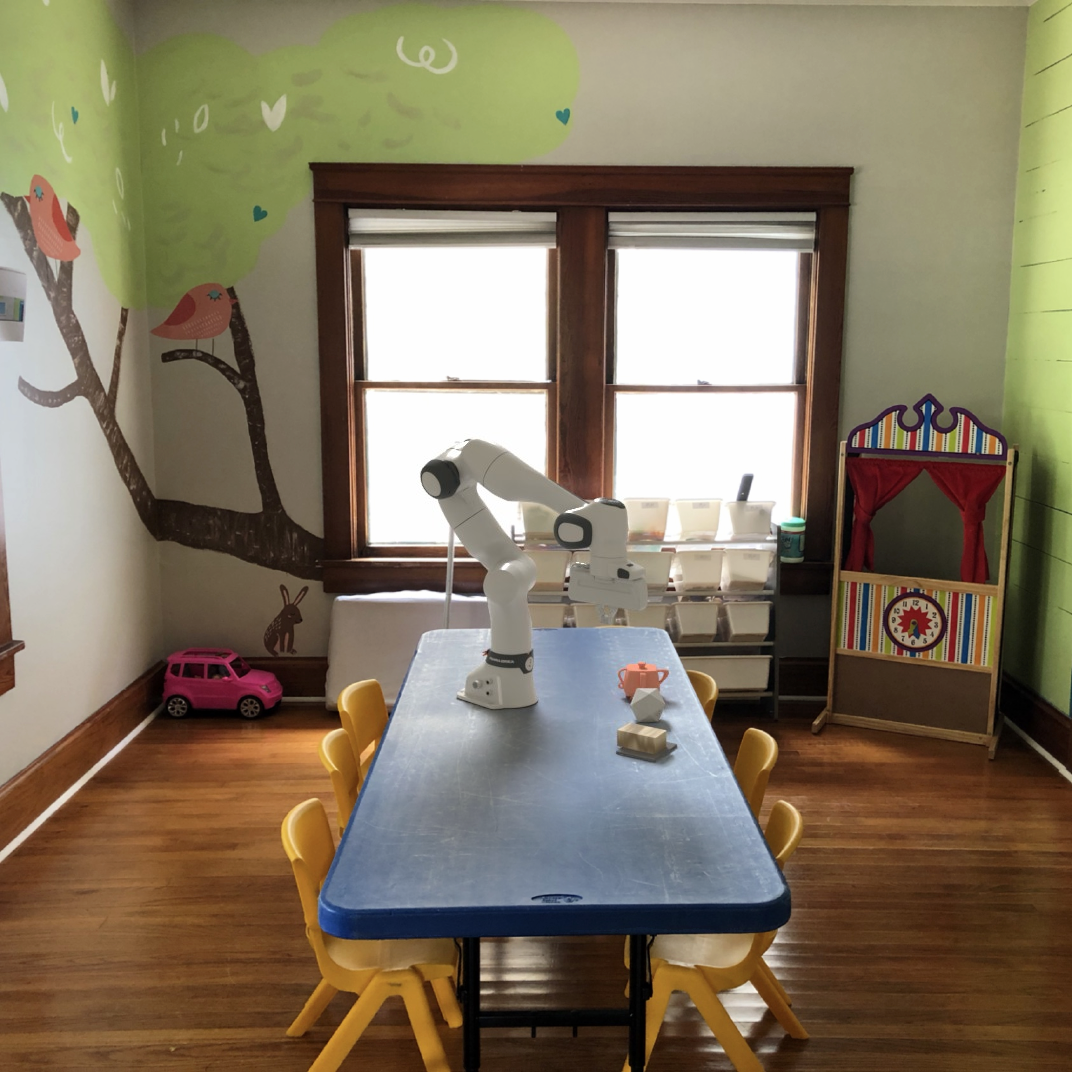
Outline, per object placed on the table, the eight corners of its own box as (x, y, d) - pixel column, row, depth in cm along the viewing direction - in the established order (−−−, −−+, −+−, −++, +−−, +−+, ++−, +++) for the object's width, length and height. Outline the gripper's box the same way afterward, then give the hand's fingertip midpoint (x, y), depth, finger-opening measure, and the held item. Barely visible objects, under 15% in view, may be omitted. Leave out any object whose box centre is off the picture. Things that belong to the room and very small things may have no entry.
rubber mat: (616, 753, 246) (616, 751, 246) (639, 738, 256) (639, 735, 256) (654, 762, 240) (654, 759, 240) (677, 746, 250) (677, 744, 250)
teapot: (639, 687, 296) (640, 654, 295) (671, 697, 287) (671, 663, 286) (610, 695, 289) (610, 661, 287) (641, 706, 280) (642, 670, 278)
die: (655, 731, 263) (674, 696, 265) (624, 712, 264) (644, 677, 265) (650, 731, 271) (670, 698, 273) (621, 713, 272) (640, 680, 274)
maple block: (617, 729, 248) (655, 737, 243) (629, 722, 253) (666, 730, 248) (617, 745, 249) (655, 754, 244) (628, 738, 254) (666, 746, 249)
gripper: (563, 563, 252) (562, 619, 255) (639, 574, 241) (637, 632, 244) (577, 559, 257) (575, 614, 260) (652, 570, 247) (649, 627, 249)
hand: (606, 623), depth 252 cm, fingers closed
